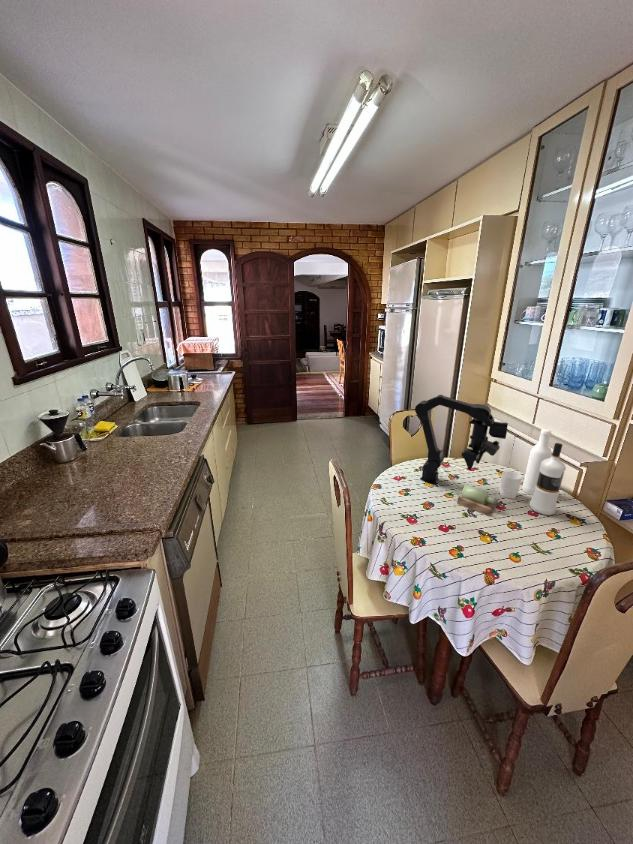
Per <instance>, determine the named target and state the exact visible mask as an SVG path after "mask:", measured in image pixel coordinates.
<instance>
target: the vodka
mask: <svg viewBox="0 0 633 844" xmlns="http://www.w3.org/2000/svg"><path fill="white" fill-rule="evenodd" d="M562 448H563V444H562V443H560V442H555V443H554V445H553V449H552V452H551V453H552V455H551V458H548V459H545V460H543V461H542V462H541V465H540V469H539V470H540V472H539V476H538V480H537V484H536V486H535V492H534V495H532V498H531V500H530V502H529V508H530V509H531V510H533V511H534V512H535V513H537V514H540V515H543V516H551V515H554V514H555V513H556V510H557V501H558V496H559V494H560V490H561V485H562V482H563V478H564V476H565V471H566V469H567V467H566V465H565V463H564V462H562V461H561V460H560V457H561V452H562Z"/></svg>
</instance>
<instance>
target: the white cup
mask: <svg viewBox="0 0 633 844" xmlns="http://www.w3.org/2000/svg"><path fill="white" fill-rule="evenodd" d="M522 480H523V476H522V474H520V473H518V472H516V471H512V470H504V471H502V473H501V478H500V486H499V488H500V489H499V494H500V495H501V496H502V497H504V498H506V499H507V498H508V499H516V498H517V496H518V492H519V490H520V487H521V484H522Z"/></svg>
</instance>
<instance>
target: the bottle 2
mask: <svg viewBox="0 0 633 844" xmlns="http://www.w3.org/2000/svg"><path fill="white" fill-rule="evenodd" d="M539 434H540V435H539V439H538V443H537V444H535V445H534V446H533V447H531V449H530V453H529V457H528V462H527V466H526V470H525V475H524V479H523V483H522V487H521V489H522V491H523V492H524V493H527V494H528V495H531V496H533V495H534V492H535V486H536V484H537V480H538V476H539V472H540V470H539V469H540V465H541V462H542V461H543V460H545V459H548V458H551V457H552V453H553V452H552V449H551V448H550V447H549V442H550V438H551V435H552V430H551V429H548V428H542V429H541V430H540V433H539Z"/></svg>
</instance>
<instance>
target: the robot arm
mask: <svg viewBox="0 0 633 844" xmlns="http://www.w3.org/2000/svg"><path fill="white" fill-rule="evenodd" d="M438 406H441V407H442V406H443V407H445V408H448V409H451V410H454V411H457V412H461V413H465V414H467V415H468V416H469V417H471V418H472V419H470V420H469V422H468V424H470V425H473V427H472V433H471V435H470V436H469V439H470V443H469V444H468V447H467V448H466V449H464V450H462V451H461V457H462V458H463V459H464V461H465V464H466V467H467V469H468V470H469V471H472V469H473V467H474V464H475V463H476V464H480V462H481V460H482V458H483V456H484V454H485V453H487V454H488V455H490V456H492V457H494V455H496V454H497V453H498V451H499V450H500V442H499V441H497V440H495V441H489V437H488V435H489V436H490V437H492V438H497V439H501V440H506V438H507V433H508V426H509V423H508V422H502V421H495V418H494V417H493V415H492V410H491V408H490V406H488V405H486V404H480V403H469V402H465V401H462V400H459V399H455V398H452V397H448V396H446V395H443V394H438V395H437V396H435V397H432V398H430V399H428V400H421V401H419V402H418V404H417V405H416V406H415V407H414V410H415V411H414V412H415V414H416V416H417V418H418V419H419V421H420V423H421V426H422V431H423V435H424V438H425V442H426V448H427V450H428V451H427V460H426V461H425V463H424V464H423V465H422V473H421V477H420V478H419V480H420V481H423V482H425V483H428V484H432V485H433V484H435V483H436V482H437V481H438V480H439V473H440V472H439V469H440V467H441V465H442V464H443V462H444V459H445V458H446V457H445V455H444V450H443V449H439V446H438V443H437V439H436V435H435V431H434V426H433V422H432V410H433V409H435V408H437V407H438ZM488 428H489V429H488Z"/></svg>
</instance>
